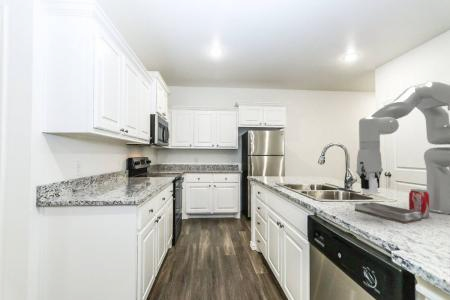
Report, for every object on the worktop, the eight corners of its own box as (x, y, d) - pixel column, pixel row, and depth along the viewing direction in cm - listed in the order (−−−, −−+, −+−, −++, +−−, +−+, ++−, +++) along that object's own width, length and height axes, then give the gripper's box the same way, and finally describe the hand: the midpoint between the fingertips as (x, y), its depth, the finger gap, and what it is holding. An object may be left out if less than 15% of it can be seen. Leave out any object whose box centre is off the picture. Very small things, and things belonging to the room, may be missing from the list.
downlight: (384, 194, 96) (383, 170, 96) (370, 195, 94) (369, 170, 95) (368, 191, 103) (367, 169, 104) (355, 192, 102) (354, 170, 102)
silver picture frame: (371, 208, 118) (371, 201, 118) (421, 220, 98) (421, 212, 98) (354, 210, 113) (354, 203, 113) (404, 223, 93) (404, 214, 93)
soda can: (433, 219, 99) (433, 191, 100) (414, 218, 101) (414, 191, 101) (422, 215, 106) (422, 189, 107) (405, 214, 108) (405, 188, 108)
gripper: (374, 146, 105) (375, 185, 105) (347, 146, 99) (348, 188, 99) (391, 145, 99) (392, 187, 98) (363, 146, 92) (364, 191, 92)
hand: (370, 187), depth 99 cm, fingers closed on downlight, 5 cm apart
